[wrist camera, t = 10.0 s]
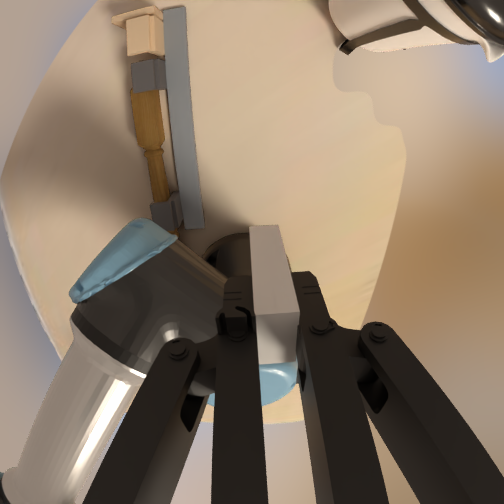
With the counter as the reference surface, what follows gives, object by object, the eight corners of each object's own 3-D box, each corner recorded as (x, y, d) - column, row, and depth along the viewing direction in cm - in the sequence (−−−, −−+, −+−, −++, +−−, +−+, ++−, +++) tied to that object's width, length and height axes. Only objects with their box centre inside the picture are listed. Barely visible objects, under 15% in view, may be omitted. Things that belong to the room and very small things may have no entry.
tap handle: (163, 262, 44) (127, 62, 28) (167, 252, 46) (135, 64, 31) (182, 261, 44) (149, 57, 28) (185, 250, 46) (155, 59, 31)
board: (205, 226, 44) (200, 245, 39) (151, 230, 44) (141, 249, 39) (185, 7, 27) (177, -5, 22) (125, 20, 27) (109, 12, 22)
